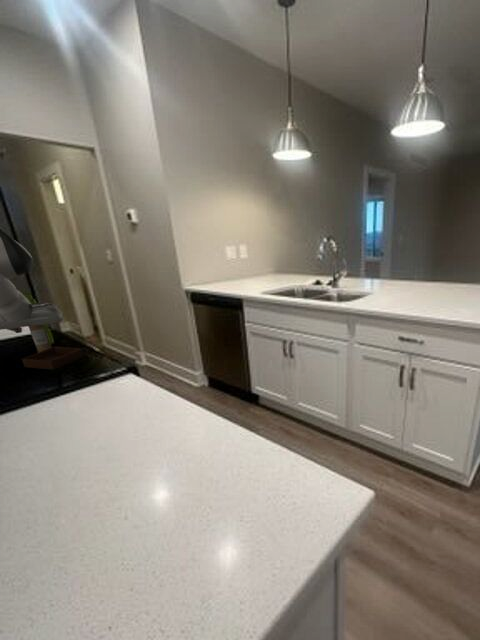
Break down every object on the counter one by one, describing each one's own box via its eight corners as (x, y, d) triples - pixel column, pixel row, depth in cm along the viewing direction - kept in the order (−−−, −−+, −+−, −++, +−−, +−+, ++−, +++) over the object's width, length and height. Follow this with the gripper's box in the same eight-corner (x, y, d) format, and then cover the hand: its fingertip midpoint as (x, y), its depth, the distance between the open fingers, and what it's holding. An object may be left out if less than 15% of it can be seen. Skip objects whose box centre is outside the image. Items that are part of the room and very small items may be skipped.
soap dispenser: (36, 348, 125) (16, 293, 117) (35, 344, 130) (15, 291, 122) (55, 344, 128) (37, 290, 121) (53, 340, 133) (35, 288, 126)
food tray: (24, 367, 108) (21, 359, 107) (56, 354, 118) (54, 346, 117) (54, 369, 105) (51, 361, 104) (84, 356, 115) (82, 348, 114)
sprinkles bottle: (55, 348, 124) (42, 312, 119) (50, 352, 120) (36, 315, 114) (41, 350, 123) (27, 313, 118) (35, 354, 119) (21, 317, 113)
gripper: (51, 294, 108) (70, 316, 121) (-27, 302, 103) (1, 325, 115) (51, 311, 106) (70, 332, 118) (-29, 320, 100) (0, 341, 113)
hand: (35, 329), depth 117 cm, fingers open, 8 cm apart
